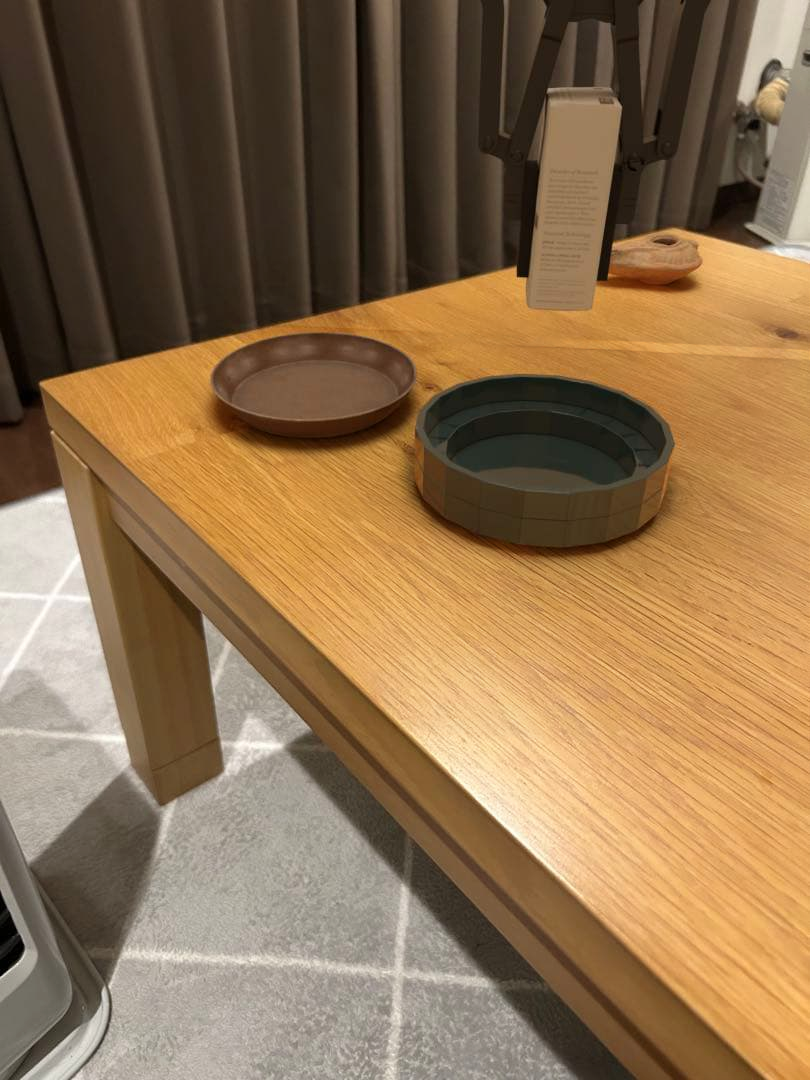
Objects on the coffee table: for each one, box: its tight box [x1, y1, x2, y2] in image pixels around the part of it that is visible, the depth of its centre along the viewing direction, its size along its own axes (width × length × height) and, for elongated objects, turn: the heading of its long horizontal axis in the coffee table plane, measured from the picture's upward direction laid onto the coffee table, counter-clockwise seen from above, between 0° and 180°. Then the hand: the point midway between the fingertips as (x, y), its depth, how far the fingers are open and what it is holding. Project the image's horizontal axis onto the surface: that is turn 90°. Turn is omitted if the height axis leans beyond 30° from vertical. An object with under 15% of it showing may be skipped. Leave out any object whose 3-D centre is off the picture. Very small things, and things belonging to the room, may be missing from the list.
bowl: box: [413, 373, 676, 548], centre depth 63 cm, size 18×18×5 cm
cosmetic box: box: [525, 86, 622, 312], centre depth 54 cm, size 6×4×12 cm
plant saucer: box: [209, 331, 418, 439], centre depth 75 cm, size 18×18×3 cm
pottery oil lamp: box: [608, 231, 704, 286], centre depth 103 cm, size 9×12×7 cm
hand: (560, 271), depth 56 cm, fingers closed on cosmetic box, 4 cm apart
